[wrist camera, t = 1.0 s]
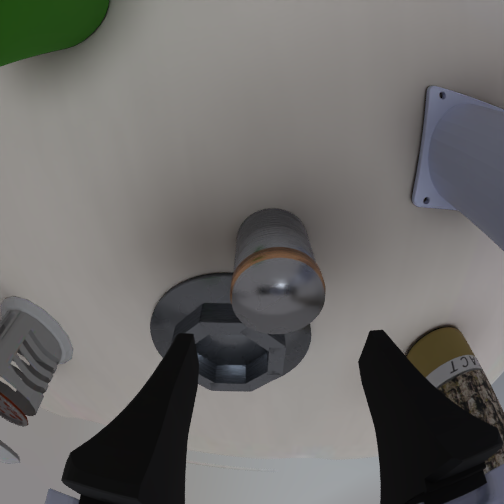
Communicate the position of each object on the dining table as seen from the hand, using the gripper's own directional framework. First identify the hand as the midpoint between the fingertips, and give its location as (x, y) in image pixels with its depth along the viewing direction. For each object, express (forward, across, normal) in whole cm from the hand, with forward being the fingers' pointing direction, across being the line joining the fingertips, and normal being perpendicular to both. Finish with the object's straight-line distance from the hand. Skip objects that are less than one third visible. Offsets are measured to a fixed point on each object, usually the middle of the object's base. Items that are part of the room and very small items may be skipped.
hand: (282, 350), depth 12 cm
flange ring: (+9, +3, +9) cm, 13 cm away
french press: (+9, +24, +10) cm, 28 cm away
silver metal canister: (+9, 0, 0) cm, 9 cm away
